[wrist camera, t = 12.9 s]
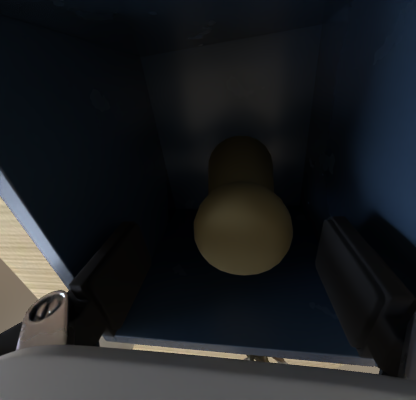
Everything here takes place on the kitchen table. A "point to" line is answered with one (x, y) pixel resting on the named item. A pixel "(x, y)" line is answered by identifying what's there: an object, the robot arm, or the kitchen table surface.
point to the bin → (211, 149)
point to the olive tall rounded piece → (242, 210)
